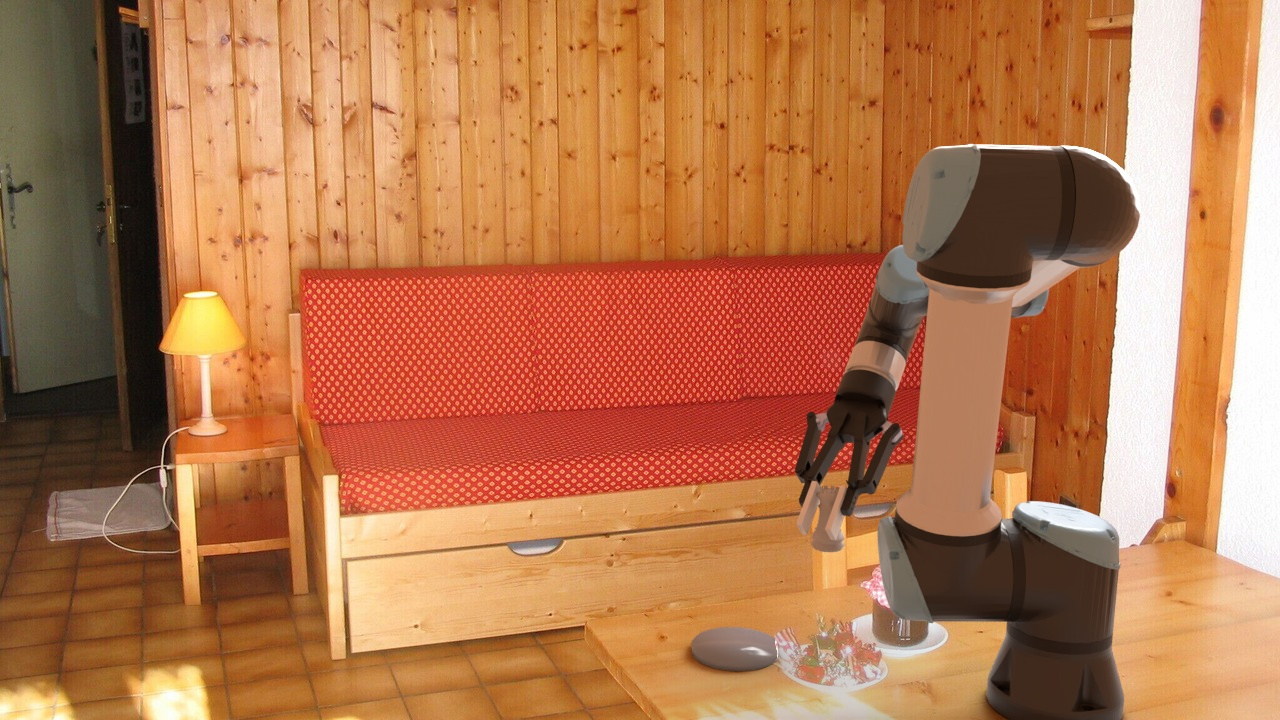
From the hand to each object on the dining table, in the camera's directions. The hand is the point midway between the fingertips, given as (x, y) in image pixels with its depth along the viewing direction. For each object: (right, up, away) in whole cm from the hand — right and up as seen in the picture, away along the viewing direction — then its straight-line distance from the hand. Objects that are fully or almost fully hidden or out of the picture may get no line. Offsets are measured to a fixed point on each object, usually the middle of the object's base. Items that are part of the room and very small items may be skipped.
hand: (816, 531), depth 162 cm
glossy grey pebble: (-10, -15, 0) cm, 19 cm away
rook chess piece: (+2, -3, +4) cm, 5 cm away
